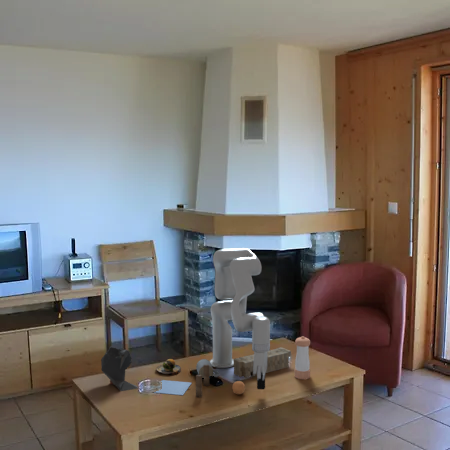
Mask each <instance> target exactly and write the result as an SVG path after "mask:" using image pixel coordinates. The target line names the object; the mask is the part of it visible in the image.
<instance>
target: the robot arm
mask: <svg viewBox="0 0 450 450" xmlns="http://www.w3.org/2000/svg"><path fill="white" fill-rule="evenodd" d="M212 258H213V267H214V271H215V278H214V294H215V295H214V296H215V297H216V298H217V299H218V300H220V301H215V302H213V303H212V305H211V306H210V315H211V322H212V358H211V359H210V360H209V361H210V363H211V365H212V368H213V367H214V368H218V369H226V368H232V367H234V360H233V359H234V358H233V328H232V326H231V324H230V323H229V322H228V321H232V324H233V327H234V329H235V330H236V331H237V332H240V333H244V332H251V347H252V348H251V350H252V351H253V355H254V360H253V374H254V375H255V374H256V372H257V375H256V378H257V379H256V389H257V390H265V389H266V373H265V372H266V370H267V361H268V357H267V352H268V351H270V350H271V320H270V319H269V317H267V316H265V315H264V314H263V312H249V313H247V300H248V296H250V295H252V294H253V293H254V292H255V290H256V289H255V285H254V282H253V278H252V276H258V275H260V274H261V273H262V263H261V261H260V259H259V257H257V255H256V254H255V253H254V252H252V250H251V249H249V248H246V247H242V248H241V247H237V248H223V249H218V250H216V251H215V252H214V254H213V257H212Z"/></svg>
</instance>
